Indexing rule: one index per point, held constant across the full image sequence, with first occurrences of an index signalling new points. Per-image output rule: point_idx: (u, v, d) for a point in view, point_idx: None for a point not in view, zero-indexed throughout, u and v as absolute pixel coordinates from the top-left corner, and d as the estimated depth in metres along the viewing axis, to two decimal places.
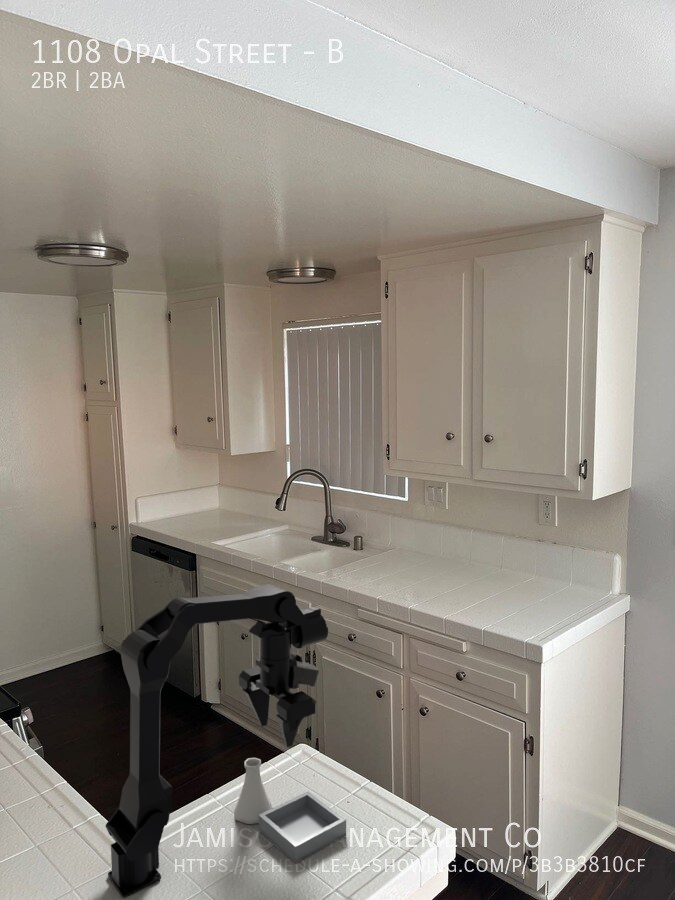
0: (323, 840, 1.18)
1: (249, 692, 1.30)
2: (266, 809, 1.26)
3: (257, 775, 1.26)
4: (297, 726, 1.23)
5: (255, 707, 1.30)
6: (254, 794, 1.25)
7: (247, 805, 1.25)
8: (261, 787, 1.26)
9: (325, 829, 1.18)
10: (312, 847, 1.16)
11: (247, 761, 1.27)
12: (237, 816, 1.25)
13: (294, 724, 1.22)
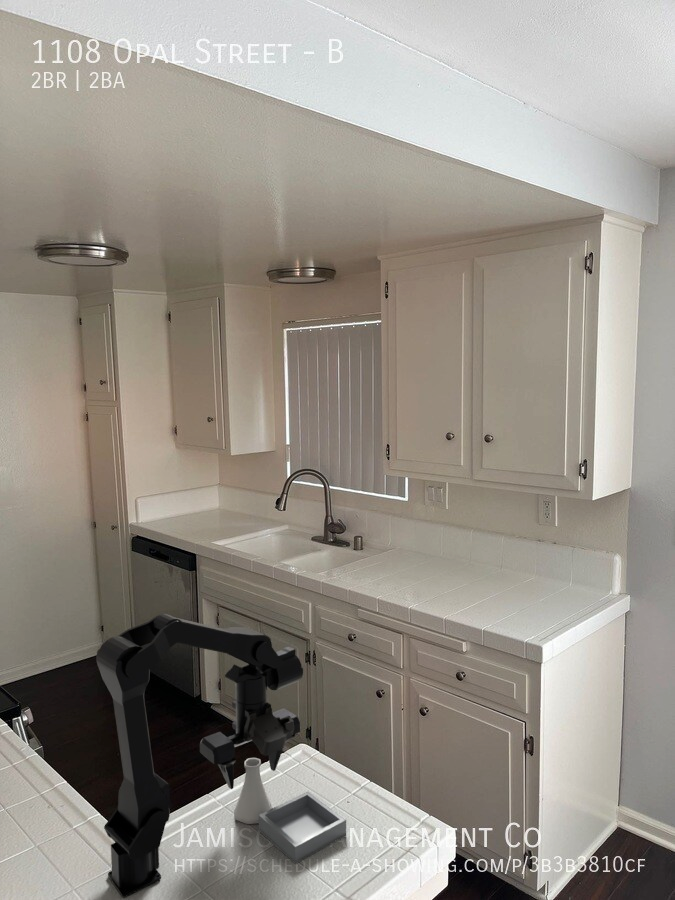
0: (323, 840, 1.18)
1: None
2: (266, 809, 1.26)
3: (257, 775, 1.26)
4: (226, 771, 1.22)
5: None
6: (254, 794, 1.25)
7: (247, 805, 1.25)
8: (261, 787, 1.26)
9: (325, 829, 1.18)
10: (312, 847, 1.16)
11: (247, 761, 1.27)
12: (237, 816, 1.25)
13: None
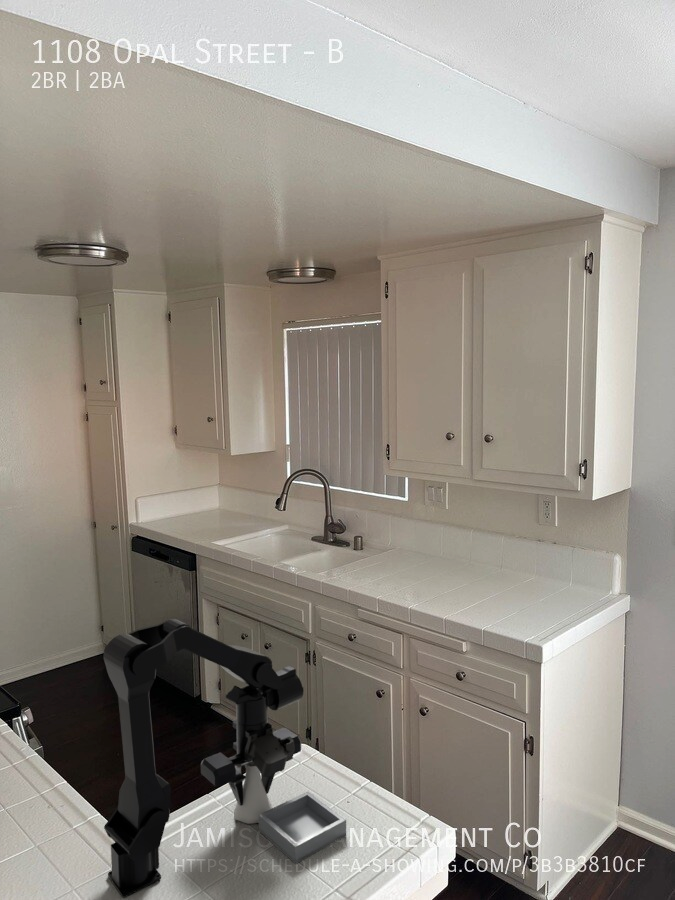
0: (323, 840, 1.18)
1: None
2: (266, 809, 1.26)
3: (257, 775, 1.26)
4: (236, 788, 1.23)
5: None
6: (254, 794, 1.25)
7: (247, 805, 1.25)
8: (261, 787, 1.26)
9: (325, 829, 1.18)
10: (312, 847, 1.16)
11: None
12: (237, 816, 1.25)
13: (235, 784, 1.24)
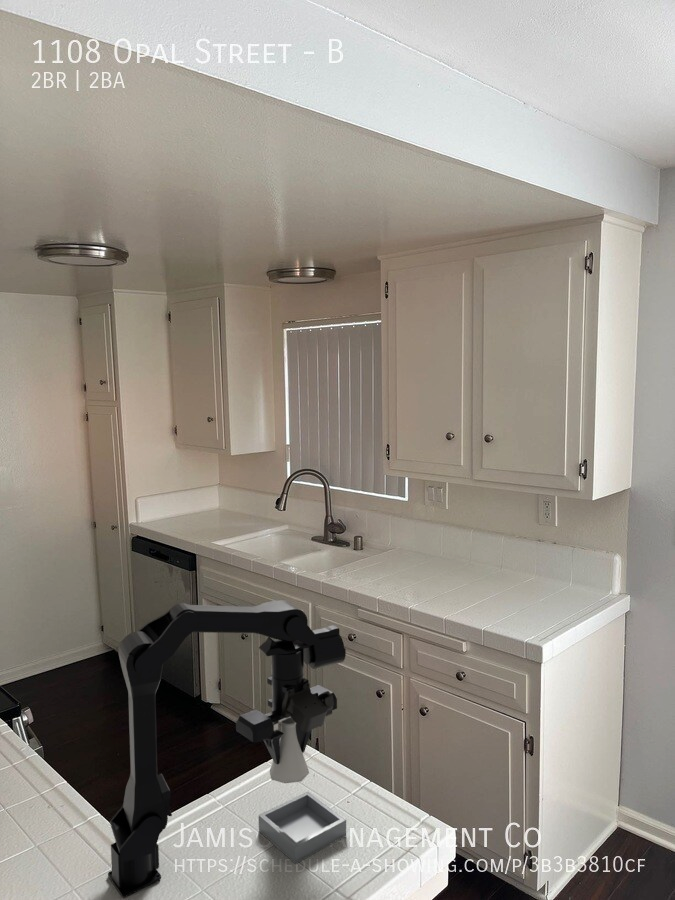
0: (323, 840, 1.18)
1: None
2: (303, 768, 1.21)
3: (293, 733, 1.21)
4: (272, 746, 1.18)
5: (296, 726, 1.25)
6: (291, 752, 1.20)
7: (283, 764, 1.20)
8: (297, 745, 1.21)
9: (325, 829, 1.18)
10: (312, 847, 1.16)
11: None
12: (273, 776, 1.20)
13: (271, 742, 1.19)
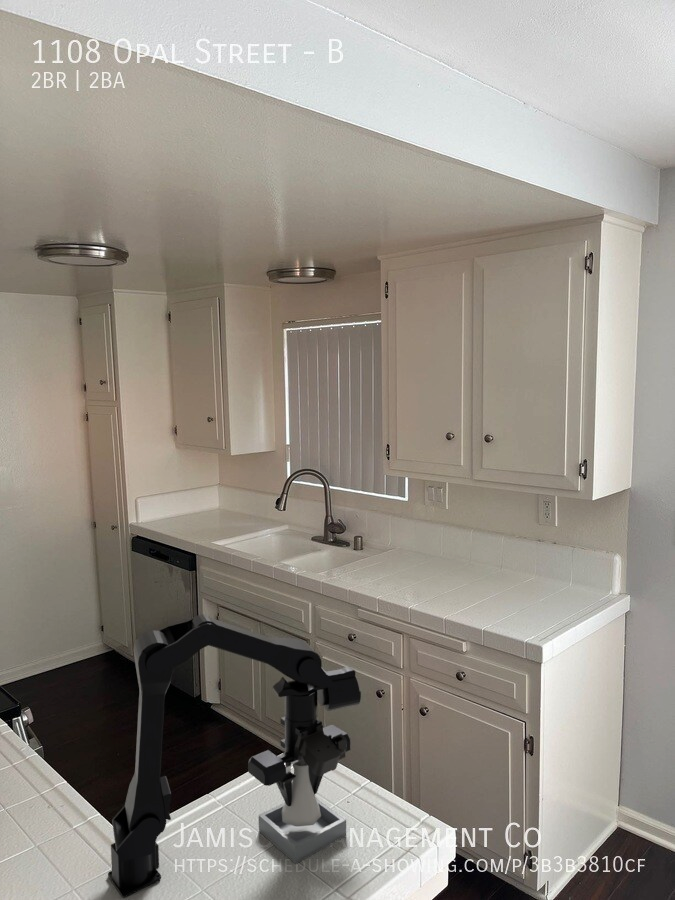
0: (323, 840, 1.18)
1: None
2: (315, 811, 1.20)
3: (306, 775, 1.20)
4: (284, 788, 1.17)
5: (308, 767, 1.24)
6: (303, 795, 1.19)
7: (295, 806, 1.19)
8: (310, 788, 1.20)
9: (325, 829, 1.18)
10: (312, 847, 1.16)
11: None
12: (285, 818, 1.19)
13: (283, 784, 1.18)
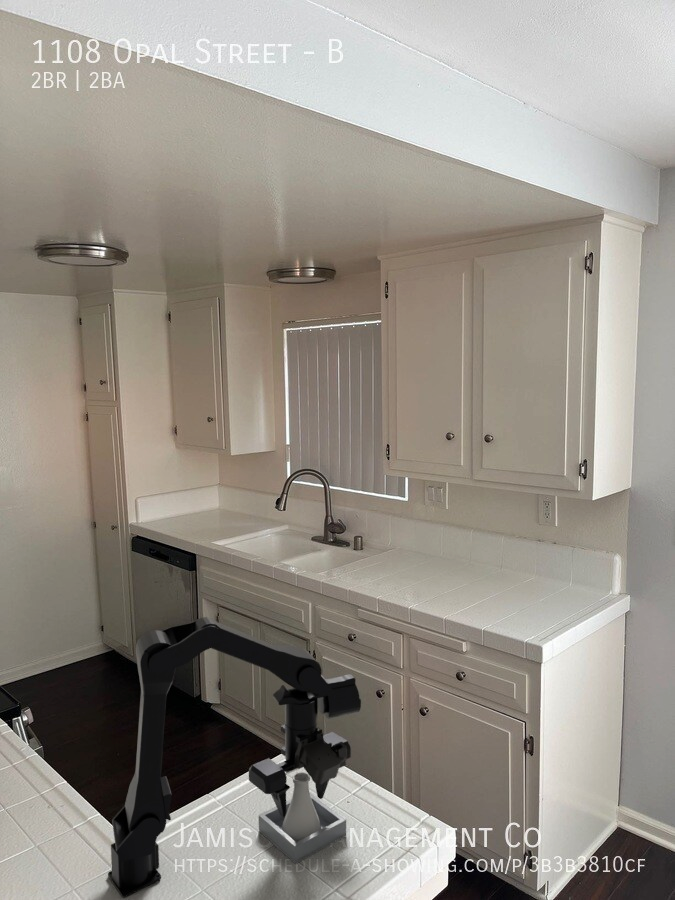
0: (323, 840, 1.18)
1: None
2: (315, 826, 1.20)
3: (306, 790, 1.20)
4: (279, 799, 1.17)
5: None
6: (303, 810, 1.19)
7: (295, 822, 1.19)
8: (310, 803, 1.20)
9: (325, 829, 1.18)
10: (312, 847, 1.16)
11: (295, 775, 1.21)
12: None
13: (278, 795, 1.17)
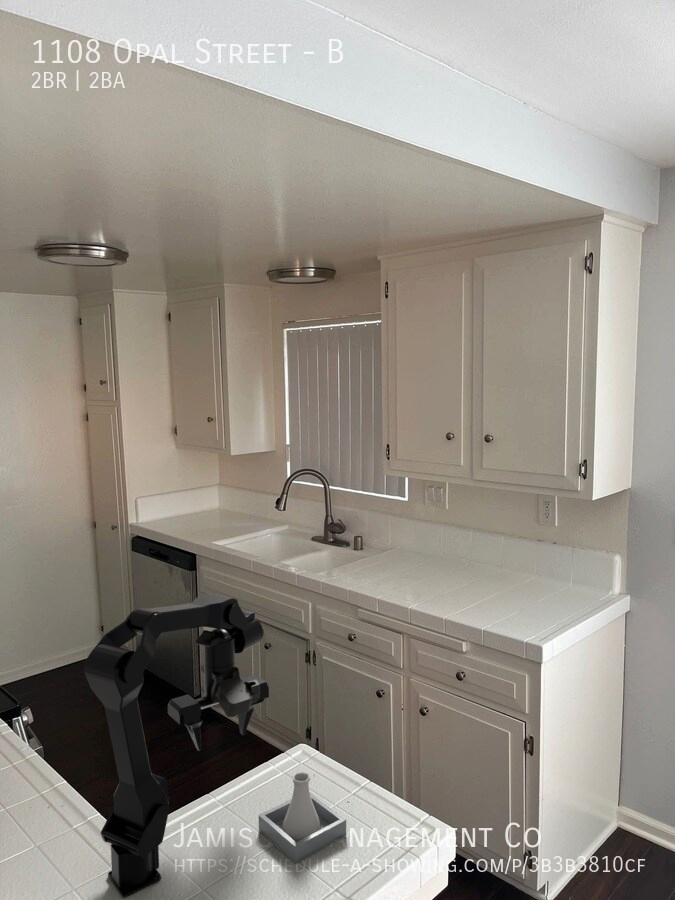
0: (323, 840, 1.18)
1: None
2: (315, 826, 1.20)
3: (306, 790, 1.20)
4: (193, 733, 1.24)
5: None
6: (303, 810, 1.19)
7: (295, 822, 1.19)
8: (310, 803, 1.20)
9: (325, 829, 1.18)
10: (312, 847, 1.16)
11: (295, 775, 1.21)
12: None
13: None
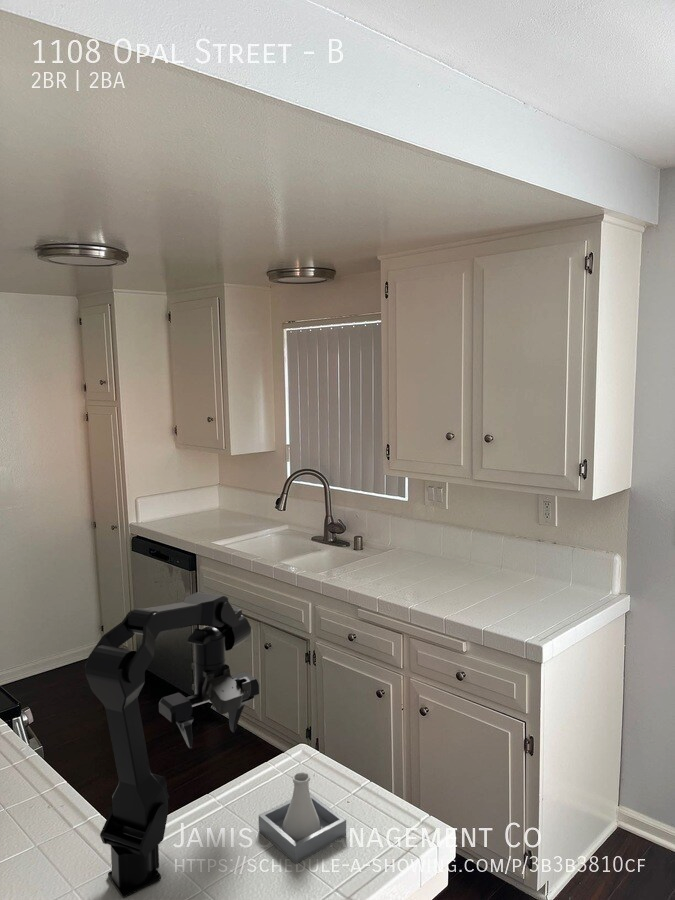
0: (323, 840, 1.18)
1: None
2: (315, 826, 1.20)
3: (306, 790, 1.20)
4: (184, 730, 1.25)
5: None
6: (303, 810, 1.19)
7: (295, 822, 1.19)
8: (310, 803, 1.20)
9: (325, 829, 1.18)
10: (312, 847, 1.16)
11: (295, 775, 1.21)
12: None
13: None
